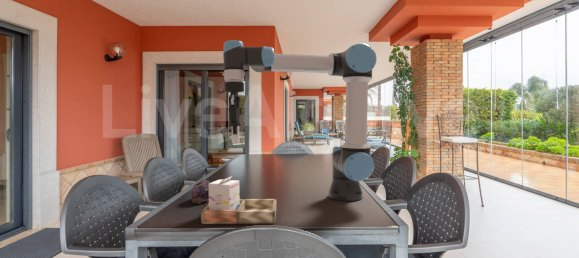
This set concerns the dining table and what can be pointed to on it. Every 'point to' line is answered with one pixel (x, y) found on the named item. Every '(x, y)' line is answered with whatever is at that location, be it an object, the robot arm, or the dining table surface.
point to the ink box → (224, 194)
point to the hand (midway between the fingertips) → (235, 142)
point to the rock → (200, 192)
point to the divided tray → (242, 213)
